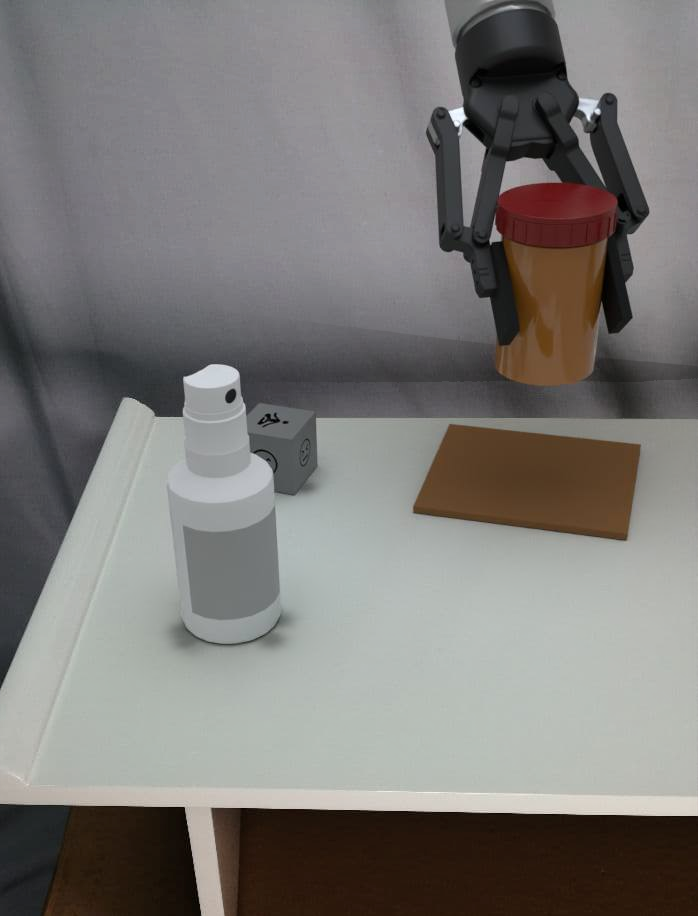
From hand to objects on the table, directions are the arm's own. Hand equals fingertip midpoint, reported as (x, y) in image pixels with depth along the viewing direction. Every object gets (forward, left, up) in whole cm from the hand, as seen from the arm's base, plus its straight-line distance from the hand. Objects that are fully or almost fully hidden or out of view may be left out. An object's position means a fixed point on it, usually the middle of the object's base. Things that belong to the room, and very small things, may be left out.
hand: (565, 331), depth 81 cm
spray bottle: (+19, +17, -16) cm, 30 cm away
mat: (+2, -6, -15) cm, 16 cm away
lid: (+2, -3, +8) cm, 8 cm away
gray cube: (+22, -2, -16) cm, 27 cm away
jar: (+2, -3, -4) cm, 5 cm away
